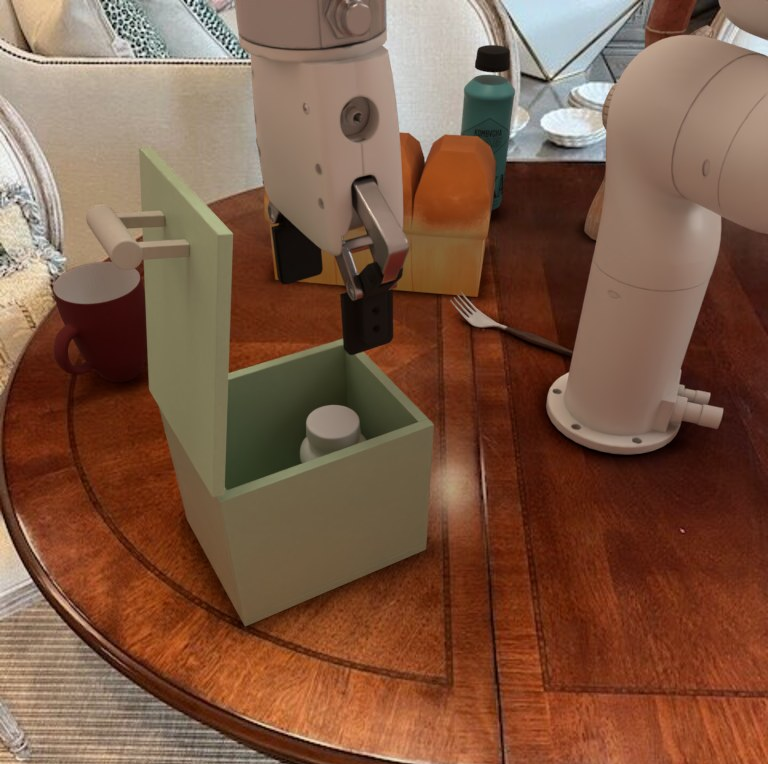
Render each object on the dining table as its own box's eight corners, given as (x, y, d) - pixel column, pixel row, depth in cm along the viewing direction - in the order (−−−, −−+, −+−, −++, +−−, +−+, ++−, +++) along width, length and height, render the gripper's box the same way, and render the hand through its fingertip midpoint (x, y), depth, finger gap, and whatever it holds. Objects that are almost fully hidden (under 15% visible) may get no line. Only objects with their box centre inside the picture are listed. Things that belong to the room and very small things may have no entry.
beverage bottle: (446, 206, 108) (456, 42, 94) (490, 200, 109) (507, 37, 95) (463, 226, 103) (477, 57, 89) (509, 220, 105) (530, 52, 91)
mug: (114, 417, 74) (86, 326, 67) (47, 397, 77) (13, 306, 70) (177, 360, 81) (158, 271, 74) (114, 342, 84) (89, 254, 76)
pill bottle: (304, 493, 66) (295, 400, 59) (367, 489, 66) (366, 396, 60) (306, 540, 62) (297, 446, 55) (373, 535, 63) (373, 441, 56)
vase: (577, 241, 101) (631, -40, 79) (580, 216, 106) (631, -54, 84) (662, 250, 99) (740, -35, 78) (660, 224, 104) (733, -49, 83)
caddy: (352, 459, 70) (348, 336, 61) (426, 549, 63) (434, 424, 54) (186, 519, 65) (155, 394, 56) (244, 627, 57) (219, 502, 48)
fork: (574, 367, 81) (578, 351, 79) (447, 316, 88) (448, 300, 86) (586, 356, 82) (590, 339, 81) (460, 306, 89) (462, 291, 88)
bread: (488, 248, 99) (501, 125, 89) (481, 298, 90) (494, 168, 80) (296, 233, 102) (286, 111, 91) (270, 280, 93) (257, 152, 83)
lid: (152, 146, 45) (63, 146, 43) (233, 233, 38) (131, 238, 35) (159, 388, 56) (88, 398, 53) (224, 495, 48) (145, 513, 46)
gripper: (471, 38, 35) (453, 359, 47) (304, -36, 45) (325, 242, 58) (320, 67, 32) (342, 398, 45) (181, -18, 43) (230, 269, 55)
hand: (332, 310), depth 51 cm, fingers open, 9 cm apart
